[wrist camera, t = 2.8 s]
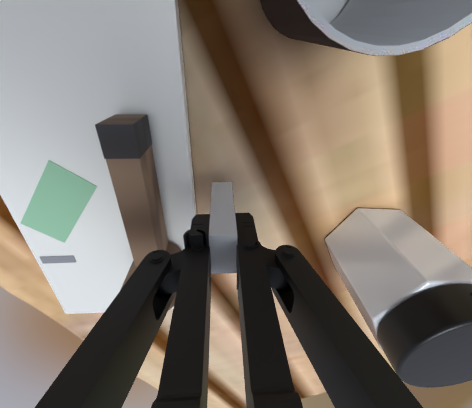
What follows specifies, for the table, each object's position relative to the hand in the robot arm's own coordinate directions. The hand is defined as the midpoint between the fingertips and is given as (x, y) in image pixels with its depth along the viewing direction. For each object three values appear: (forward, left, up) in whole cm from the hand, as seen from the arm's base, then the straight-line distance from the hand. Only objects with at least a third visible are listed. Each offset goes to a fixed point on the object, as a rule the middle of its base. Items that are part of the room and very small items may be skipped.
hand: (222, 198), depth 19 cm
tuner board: (0, -10, -3) cm, 10 cm away
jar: (+7, +15, -3) cm, 17 cm away
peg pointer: (+2, -6, -1) cm, 6 cm away
